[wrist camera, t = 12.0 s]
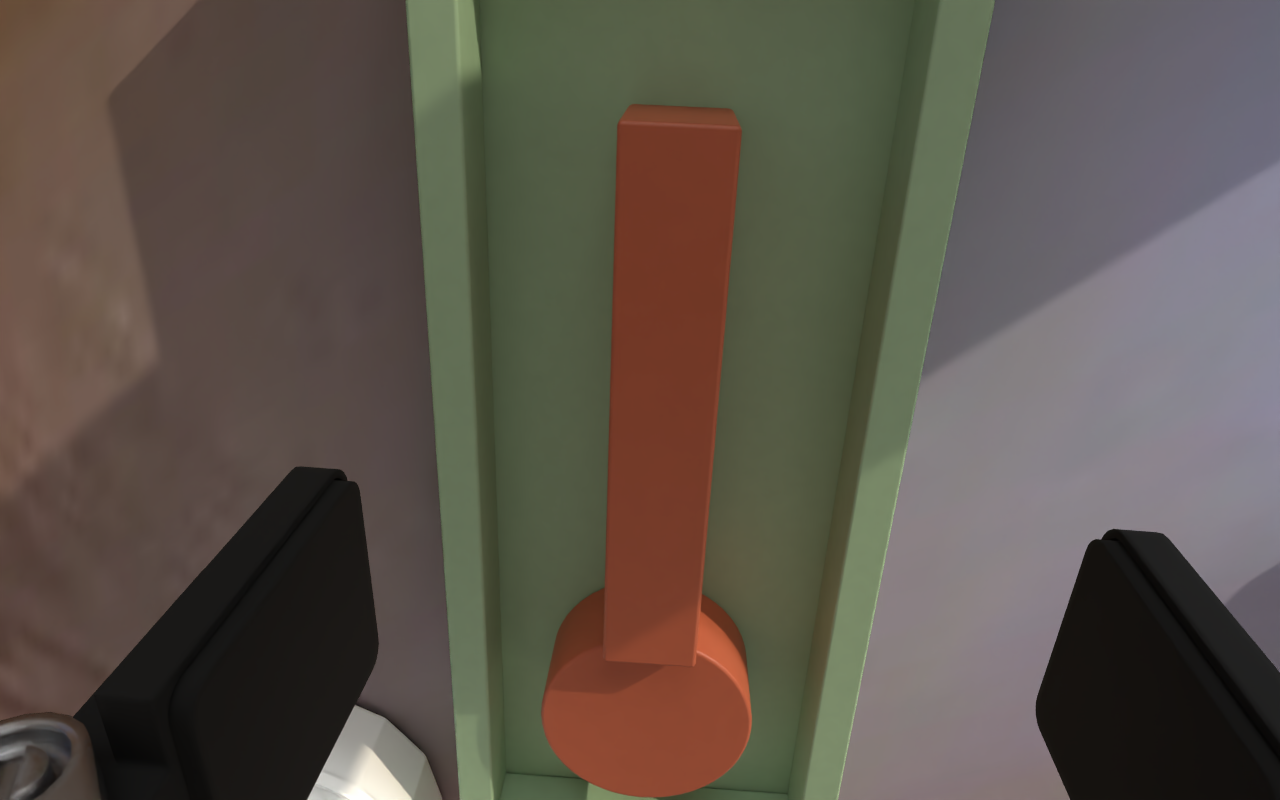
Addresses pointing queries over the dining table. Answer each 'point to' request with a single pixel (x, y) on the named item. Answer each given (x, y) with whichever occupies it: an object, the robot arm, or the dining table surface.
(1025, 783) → the dining table surface
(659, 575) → the terracotta spoon
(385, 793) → the white cup
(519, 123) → the tray
